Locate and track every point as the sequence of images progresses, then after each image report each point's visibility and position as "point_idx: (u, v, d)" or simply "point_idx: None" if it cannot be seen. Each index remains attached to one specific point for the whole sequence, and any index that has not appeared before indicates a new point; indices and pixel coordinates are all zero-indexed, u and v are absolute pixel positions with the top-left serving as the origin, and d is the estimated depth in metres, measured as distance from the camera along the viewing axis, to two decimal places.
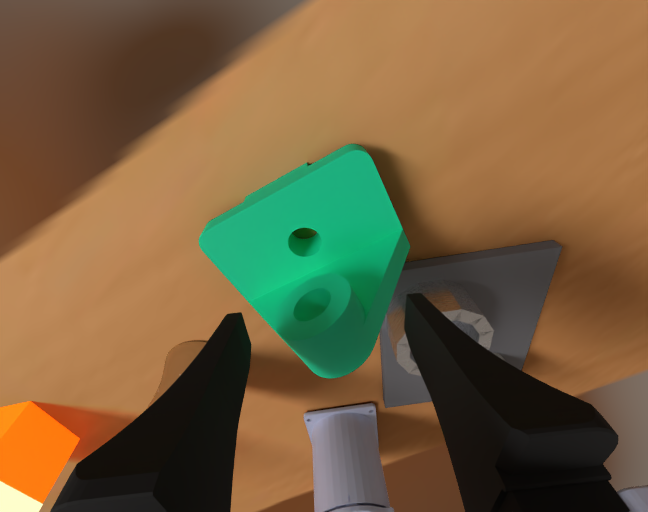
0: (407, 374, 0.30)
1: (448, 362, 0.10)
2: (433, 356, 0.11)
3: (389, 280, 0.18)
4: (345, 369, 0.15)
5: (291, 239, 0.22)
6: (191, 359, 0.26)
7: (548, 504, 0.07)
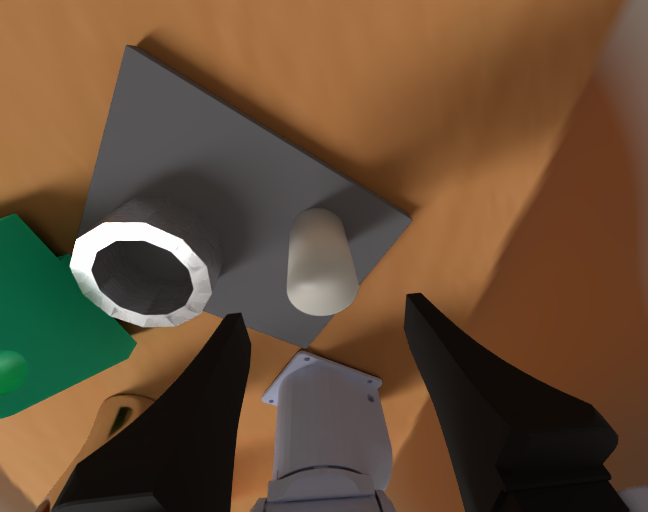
0: (262, 308, 0.24)
1: (448, 362, 0.10)
2: (433, 356, 0.11)
3: None
4: None
5: None
6: (96, 420, 0.28)
7: (548, 504, 0.07)
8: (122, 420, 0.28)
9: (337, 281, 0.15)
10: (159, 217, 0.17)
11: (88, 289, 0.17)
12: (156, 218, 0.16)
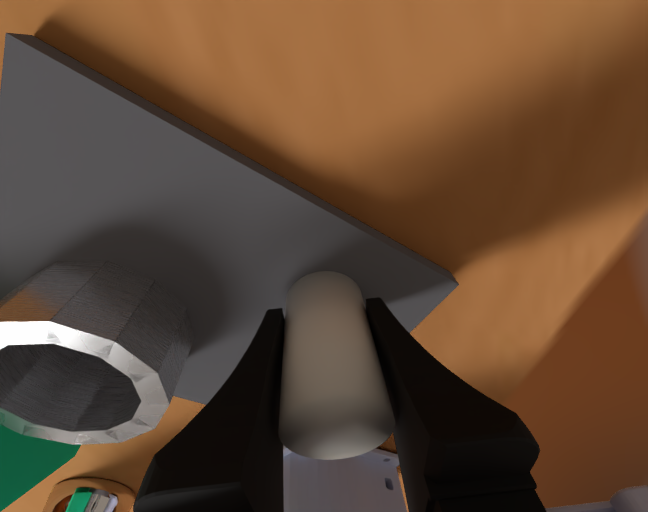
0: None
1: (393, 368, 0.10)
2: (384, 362, 0.11)
3: None
4: None
5: None
6: None
7: None
8: None
9: (361, 421, 0.09)
10: (81, 303, 0.11)
11: None
12: (75, 306, 0.10)
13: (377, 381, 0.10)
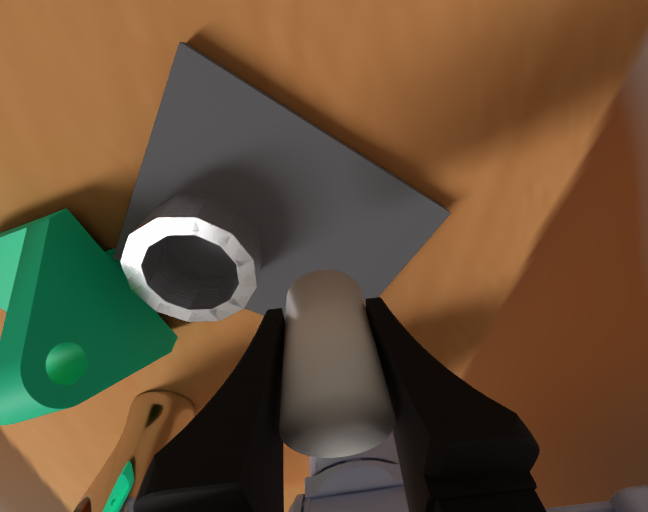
0: None
1: (393, 368, 0.10)
2: (384, 362, 0.11)
3: (23, 286, 0.16)
4: (27, 401, 0.14)
5: None
6: (129, 416, 0.29)
7: None
8: (156, 416, 0.28)
9: (361, 419, 0.09)
10: (208, 212, 0.17)
11: (136, 284, 0.18)
12: (205, 213, 0.17)
13: (378, 379, 0.10)
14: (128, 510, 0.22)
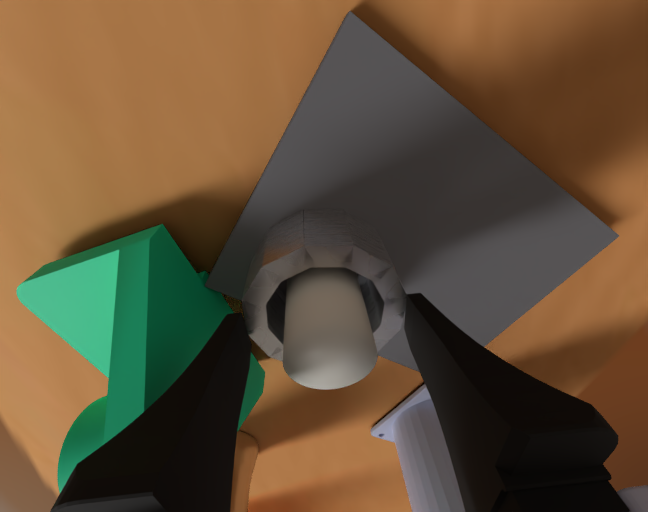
0: None
1: (448, 362, 0.10)
2: (433, 356, 0.11)
3: (128, 330, 0.12)
4: None
5: None
6: None
7: (548, 504, 0.07)
8: None
9: (350, 351, 0.12)
10: (357, 237, 0.13)
11: (255, 326, 0.14)
12: (356, 238, 0.13)
13: (363, 320, 0.12)
14: None
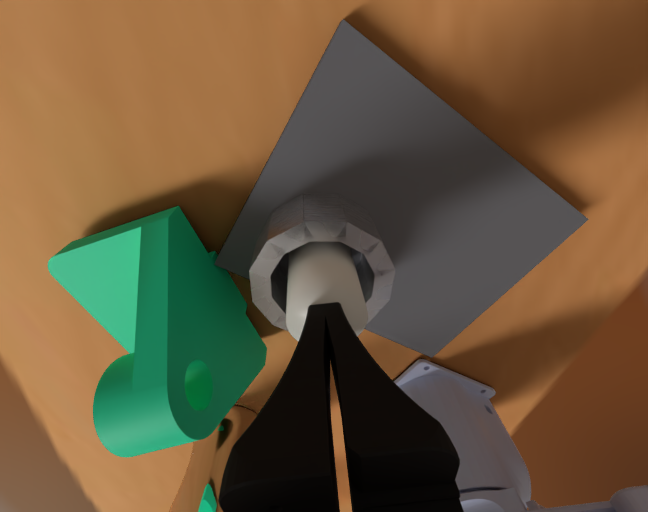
0: (400, 314, 0.22)
1: (337, 374, 0.10)
2: (335, 367, 0.11)
3: (151, 294, 0.14)
4: (172, 432, 0.12)
5: None
6: None
7: None
8: (228, 433, 0.26)
9: None
10: (350, 215, 0.15)
11: (260, 296, 0.16)
12: (349, 217, 0.15)
13: (355, 285, 0.14)
14: None
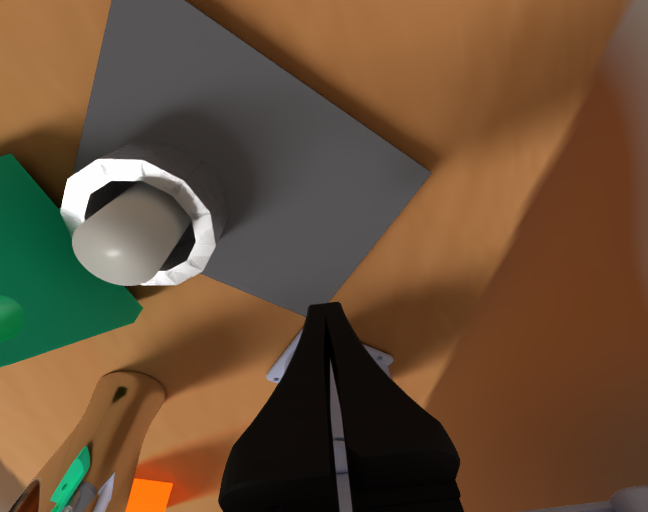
0: (269, 273, 0.22)
1: (337, 374, 0.10)
2: (335, 367, 0.11)
3: None
4: None
5: None
6: (92, 397, 0.27)
7: None
8: (120, 397, 0.26)
9: (131, 245, 0.14)
10: (158, 157, 0.15)
11: None
12: (155, 158, 0.15)
13: (145, 220, 0.14)
14: (79, 493, 0.20)
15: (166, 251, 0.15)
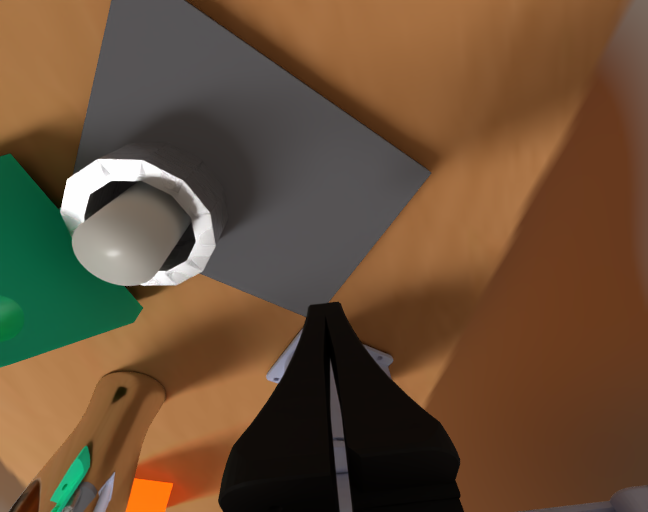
0: (269, 273, 0.22)
1: (337, 374, 0.10)
2: (335, 367, 0.11)
3: None
4: None
5: None
6: (92, 397, 0.27)
7: None
8: (120, 397, 0.26)
9: (130, 245, 0.14)
10: (158, 157, 0.15)
11: None
12: (155, 158, 0.15)
13: (145, 220, 0.14)
14: (79, 493, 0.20)
15: (166, 251, 0.15)
